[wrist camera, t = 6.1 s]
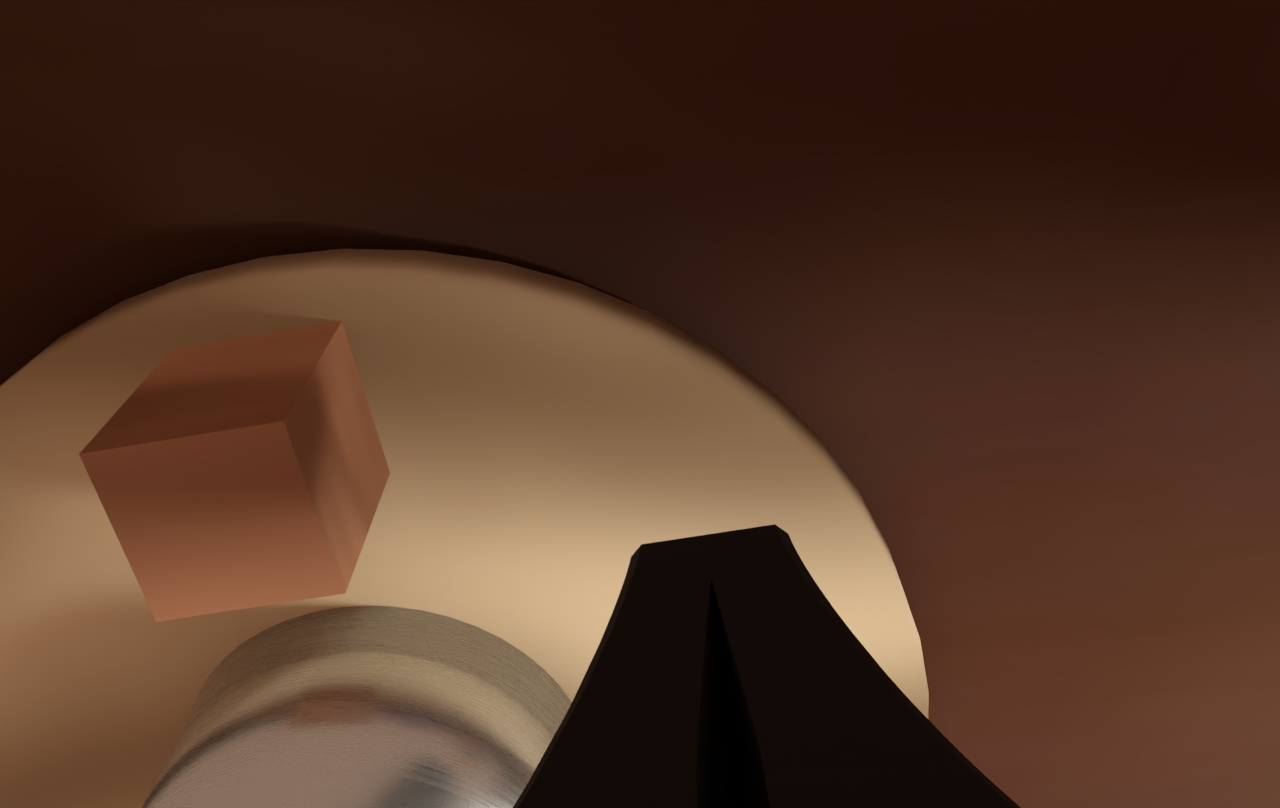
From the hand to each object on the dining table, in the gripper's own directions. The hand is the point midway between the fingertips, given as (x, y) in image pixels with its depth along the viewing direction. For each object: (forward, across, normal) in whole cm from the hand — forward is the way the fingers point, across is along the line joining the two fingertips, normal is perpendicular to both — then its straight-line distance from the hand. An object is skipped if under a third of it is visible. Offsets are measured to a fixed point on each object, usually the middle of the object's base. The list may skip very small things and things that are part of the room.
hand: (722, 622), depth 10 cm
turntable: (+8, +6, +7) cm, 12 cm away
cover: (+6, +6, +7) cm, 11 cm away
